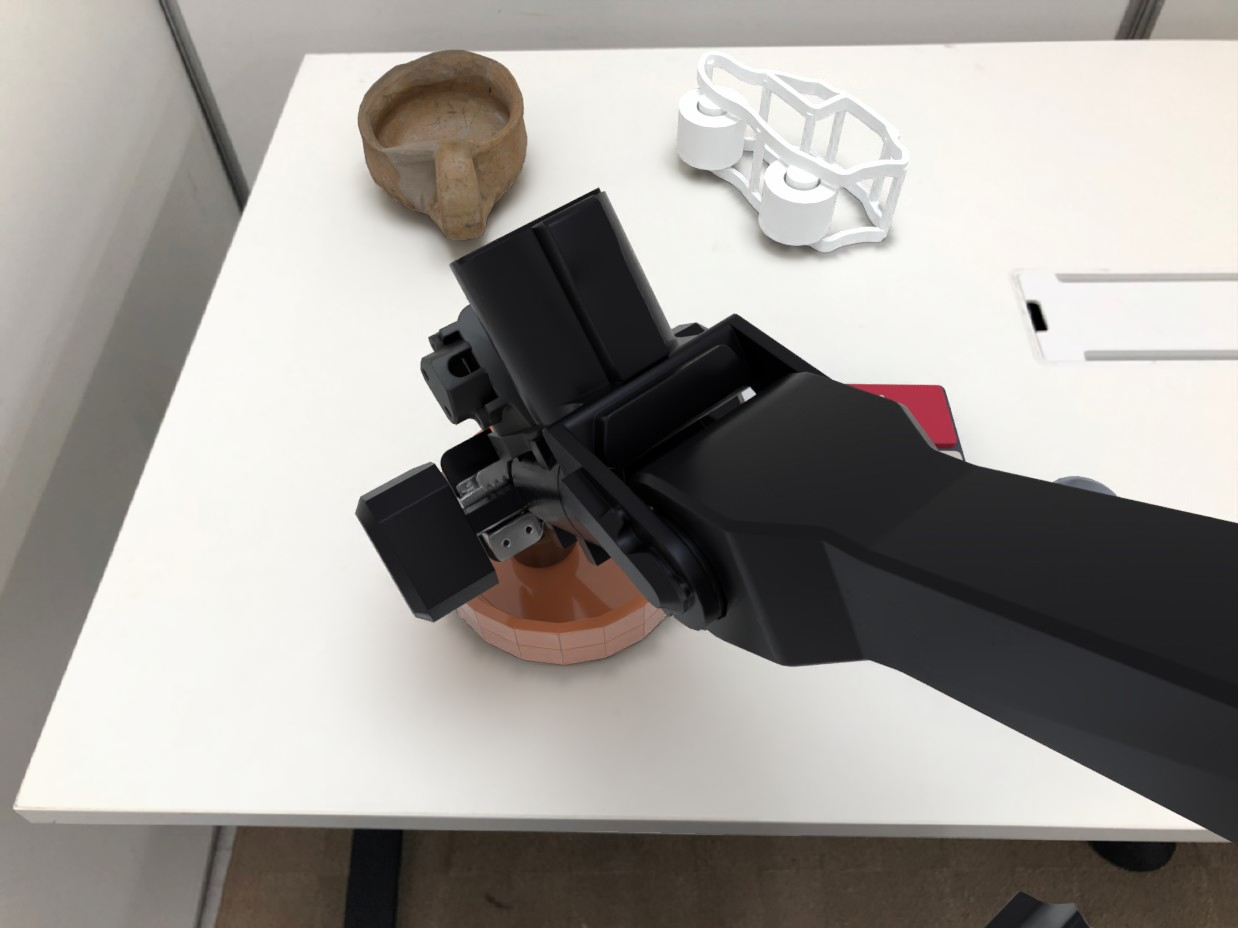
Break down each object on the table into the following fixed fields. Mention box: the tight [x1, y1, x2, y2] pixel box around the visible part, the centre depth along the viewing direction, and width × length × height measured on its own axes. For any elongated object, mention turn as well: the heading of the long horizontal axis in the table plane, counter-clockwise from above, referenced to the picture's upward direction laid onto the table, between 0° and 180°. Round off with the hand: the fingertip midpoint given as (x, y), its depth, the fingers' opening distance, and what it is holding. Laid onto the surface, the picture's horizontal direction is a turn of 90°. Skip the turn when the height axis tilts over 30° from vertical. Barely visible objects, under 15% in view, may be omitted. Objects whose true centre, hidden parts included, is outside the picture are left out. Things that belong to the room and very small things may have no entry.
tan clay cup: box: [357, 49, 528, 241], centre depth 69 cm, size 18×14×10 cm
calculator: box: [742, 383, 966, 461], centre depth 55 cm, size 11×4×15 cm
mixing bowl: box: [441, 426, 667, 666], centre depth 52 cm, size 15×15×5 cm
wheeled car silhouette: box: [676, 50, 910, 253], centre depth 70 cm, size 20×11×7 cm, turn 33°
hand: (516, 452), depth 48 cm, fingers closed on pestle, 3 cm apart
